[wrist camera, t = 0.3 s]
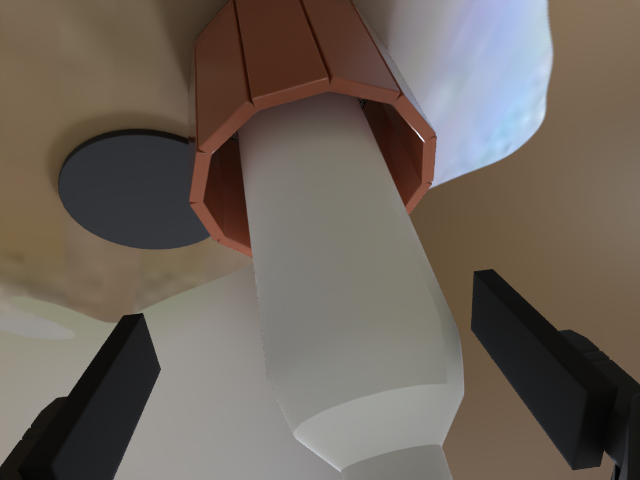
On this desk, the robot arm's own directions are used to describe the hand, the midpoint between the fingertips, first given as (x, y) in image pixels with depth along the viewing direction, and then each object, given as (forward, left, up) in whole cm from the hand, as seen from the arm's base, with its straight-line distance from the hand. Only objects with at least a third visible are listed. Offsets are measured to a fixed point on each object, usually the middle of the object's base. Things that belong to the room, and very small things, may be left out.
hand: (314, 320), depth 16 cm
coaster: (+7, -12, -18) cm, 22 cm away
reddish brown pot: (+1, +1, -18) cm, 18 cm away
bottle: (+1, +1, -18) cm, 18 cm away
